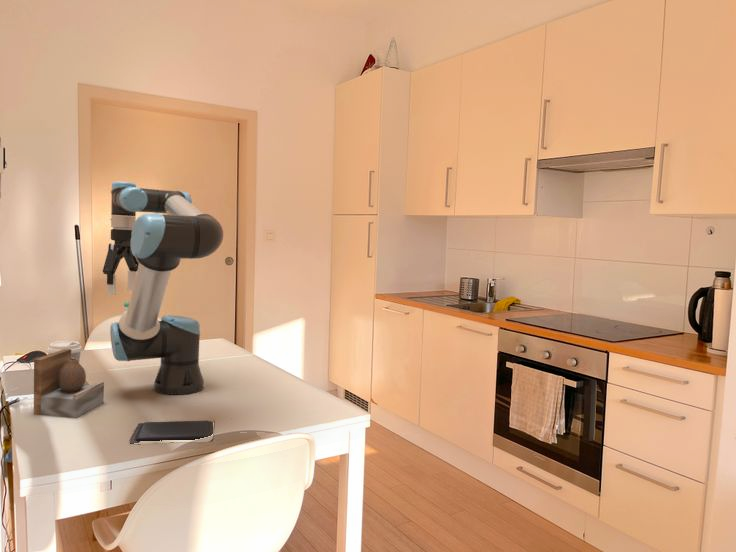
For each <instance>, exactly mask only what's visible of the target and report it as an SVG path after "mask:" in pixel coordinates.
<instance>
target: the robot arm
mask: <svg viewBox="0 0 736 552" xmlns="http://www.w3.org/2000/svg"><path fill="white" fill-rule="evenodd" d="M110 194H111V202H110V203H111V207H110V209H111V210H110V211H111V213H110V215H111V216H110V219H109V220H110V227H111V228H112V229H110V240H111V241H113V242H114V243H109V244H108V249H107V253H106V257H105V259H104V260H105V261H104V265H103V267H102V273H103V275H106V295H111V296H112V295H113V296H115V295H117V294H116V293H117V291H116V290H117V274H116V272H117V270H118V267H119V264H120V262H121V260H123V258H124V260H125V263H126V265H127V268H128V271H127V288H126V290H128V291H132V292H131V295H130V299H129V301H128V302H129V306H128V311H127V313H125V314H124V313H122V315H121V316H120V318H119V321H118V322H116V321H115V322H113V323H111V324H110V328H109V329H110V330H109V331H110V334H109V335H110V343H111V350H112V354H113V358H114V359H115V360H116V361H118V362H125V361H126V362H131V361H143V360H151V359H152V360H153V359H160V366H159V369H158V371H157V374H156V376H155V380H154V382H153V383H154V384H153V389H154V391H155V392H157V393H160V394H164V395H187V394H193V393H197V392H199V390H200V391H201V389H202V390H203V389H204V383H205V382H204V381H205V380H204V377H203V375H202V371H201V368H200V361H199V359H200V338H201V337H200V336H201V331H200V322H199V321H198V320H197V319H195V318H192V317H188V316H181V315H174V314H173V315H172V314H171V315H170V314H169V315H168V314H167V315H162V316H161V319H160V320H159V319H158V316H159V314H160V311H161V308H162V303H163V300H164V296H165V294H166V293H165V292H166V289H167V287H168V283H169V279H170V276H171V273H172V271H174V270H176V269H177V268H178V267H179V265H180V262H181V260H182V259H190V260H193V259H196V260H197V259H203V258H206V257H209V256H210V255H212V254H213V253H215V252H216V251H218V249H219V248H220V246H221V245H222V243H223V240H224V230H223V226H222V225H221V223H220V221H218V219H216V218H215V217H214V216H212V215H210V214H209V213H203V212H202V211H201V210H200V209H198V208H197V207H196V206H195V205H194V204H193V203H192V197H191V194H190V193H189V192H186V191H185V192H184V191H181V190H166V189H165V190H164V189H154V188H142V187H138V186H137V184H136V183H134V182H131V181H130V182H129V181H117V180H116V181H113V182H112V183H111V190H110ZM137 212H139V213H140V212H141V213H143V214H141V215H139V216H138V217H136V215H137V214H136V213H137Z"/></svg>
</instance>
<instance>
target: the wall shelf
mask: <svg viewBox="0 0 736 552" xmlns="http://www.w3.org/2000/svg"><path fill="white" fill-rule="evenodd" d="M68 359H71V349H63V350H60V351H57V352H54V353H51V354H45V355H43V356H40V357H37V358H34V359H33V415H41V416H50V417H51V416H52V417H62V418H63V417H65V418H72V419H73V418H75V419H76V418H79V417H81V416H83V415H84V414H86V413H88V412H89V411H91V410H93V409H95V408H97V407H98V406H101V405H102V404H104V397H105V396H104V392H105V389H104V388H105V382H104V381H98V382H97V383H95V384H86V383H85V384H84V386H83V387H82V388H81V389H80V390H79V391H77V392H64V391H63V390H62V389H61V388H60V386H59V383H58V375H59V372H60V370H61V368H62V367H63V366H64V365H65V364H66V362H67V360H68Z"/></svg>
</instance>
